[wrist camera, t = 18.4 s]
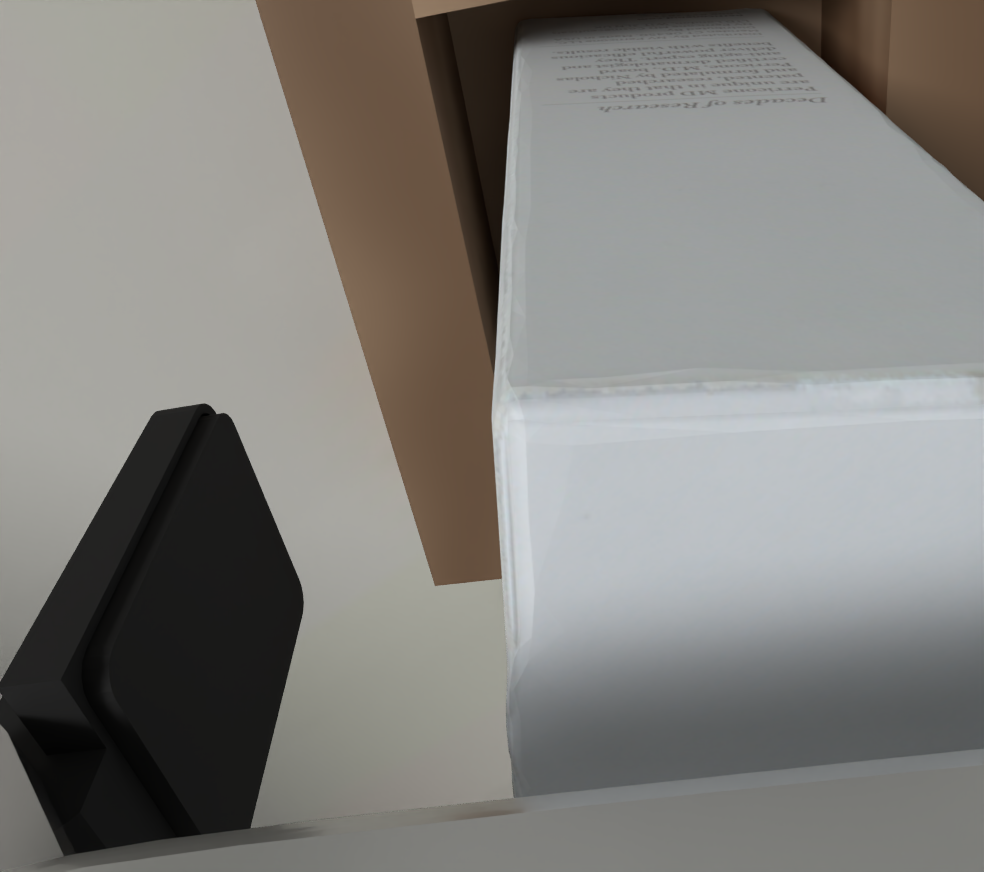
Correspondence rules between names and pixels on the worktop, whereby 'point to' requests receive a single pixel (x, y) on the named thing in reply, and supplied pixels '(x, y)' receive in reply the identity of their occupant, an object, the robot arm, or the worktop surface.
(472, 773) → the worktop surface
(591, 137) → the skincare box
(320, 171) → the holder
